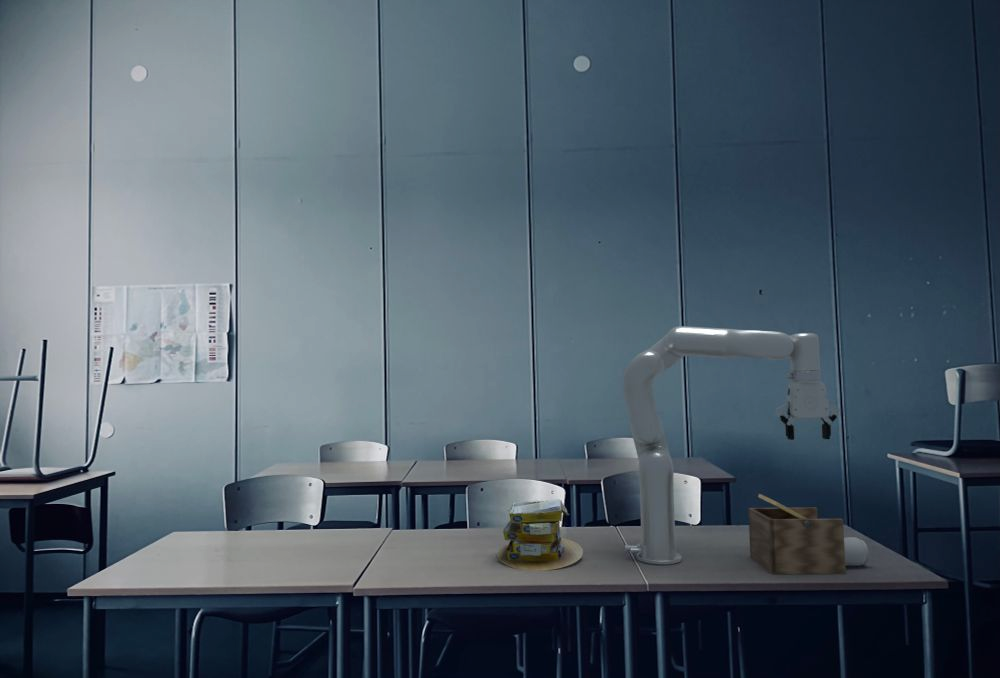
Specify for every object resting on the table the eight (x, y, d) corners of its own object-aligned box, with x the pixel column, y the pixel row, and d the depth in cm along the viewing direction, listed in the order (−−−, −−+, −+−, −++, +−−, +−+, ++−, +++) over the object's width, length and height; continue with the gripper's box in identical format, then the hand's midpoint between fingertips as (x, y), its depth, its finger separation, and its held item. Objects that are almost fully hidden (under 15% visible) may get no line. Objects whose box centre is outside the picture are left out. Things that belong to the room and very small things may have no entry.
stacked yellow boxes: (569, 574, 181) (568, 511, 182) (484, 566, 190) (483, 506, 191) (591, 552, 204) (590, 496, 205) (514, 546, 213) (513, 492, 214)
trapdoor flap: (775, 505, 180) (777, 502, 180) (757, 496, 194) (759, 493, 194) (830, 535, 179) (832, 531, 179) (808, 523, 193) (810, 520, 193)
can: (815, 564, 188) (858, 563, 188) (827, 568, 180) (872, 567, 180) (812, 536, 189) (854, 535, 189) (824, 539, 182) (869, 538, 182)
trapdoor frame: (773, 575, 177) (770, 520, 178) (749, 556, 195) (747, 507, 196) (847, 574, 176) (844, 520, 177) (816, 556, 195) (814, 506, 196)
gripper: (779, 378, 185) (782, 440, 184) (843, 376, 185) (846, 439, 184) (769, 378, 193) (772, 438, 192) (831, 377, 192) (834, 437, 191)
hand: (808, 439), depth 188 cm, fingers open, 9 cm apart
